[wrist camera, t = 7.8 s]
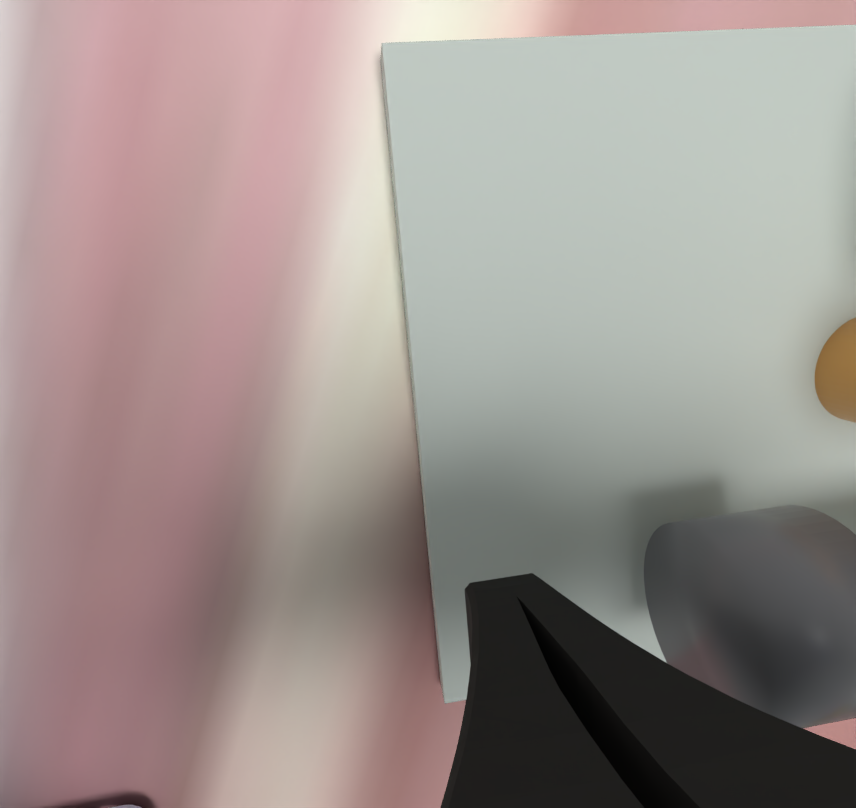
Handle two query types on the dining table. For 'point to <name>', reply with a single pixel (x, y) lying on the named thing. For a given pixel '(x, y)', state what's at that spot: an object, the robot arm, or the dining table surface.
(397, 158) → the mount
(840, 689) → the charcoal knob
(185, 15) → the dining table surface
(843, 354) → the dial
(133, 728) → the dining table surface
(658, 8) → the dining table surface
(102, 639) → the dining table surface
